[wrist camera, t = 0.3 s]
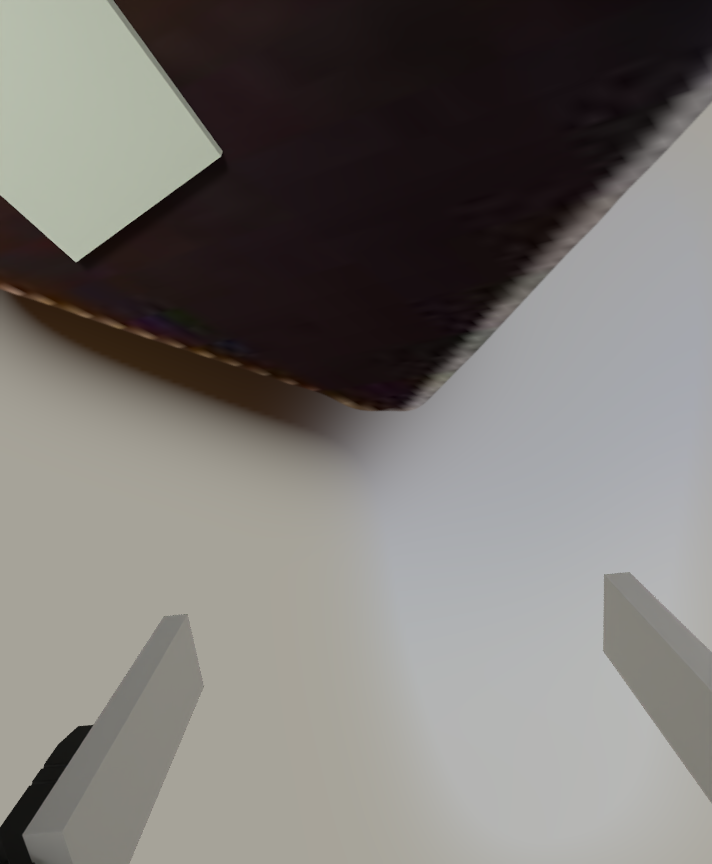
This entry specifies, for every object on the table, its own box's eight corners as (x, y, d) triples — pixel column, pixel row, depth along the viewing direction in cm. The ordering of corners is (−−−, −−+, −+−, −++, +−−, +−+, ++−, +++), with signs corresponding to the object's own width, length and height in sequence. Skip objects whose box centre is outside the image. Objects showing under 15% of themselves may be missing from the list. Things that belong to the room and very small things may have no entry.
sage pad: (-140, 57, 31) (-150, 61, 30) (16, -135, 25) (8, -135, 25) (79, 256, 42) (75, 262, 41) (222, 151, 36) (220, 156, 35)
